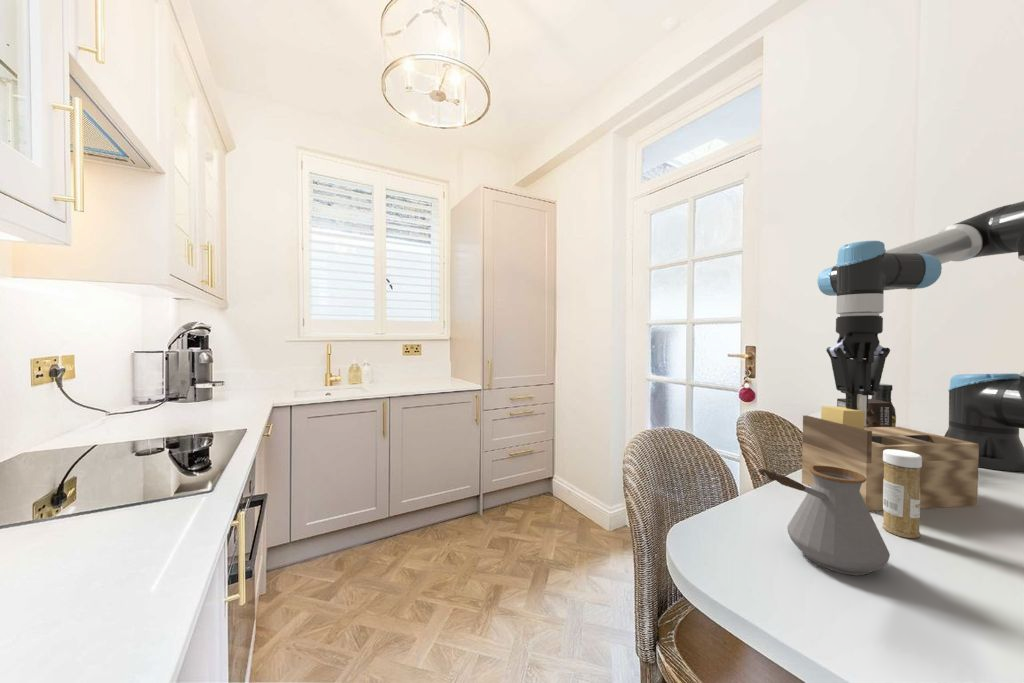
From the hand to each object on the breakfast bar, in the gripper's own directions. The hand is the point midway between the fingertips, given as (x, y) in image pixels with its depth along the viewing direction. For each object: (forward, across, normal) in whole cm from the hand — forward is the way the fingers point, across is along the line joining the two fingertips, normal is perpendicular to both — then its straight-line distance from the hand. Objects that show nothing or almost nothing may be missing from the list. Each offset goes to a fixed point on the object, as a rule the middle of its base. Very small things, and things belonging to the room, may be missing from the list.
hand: (856, 424), depth 83 cm
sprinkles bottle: (+14, +11, +18) cm, 25 cm away
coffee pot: (+14, +34, +25) cm, 45 cm away
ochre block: (+2, +4, 0) cm, 4 cm away
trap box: (+14, -3, +4) cm, 14 cm away
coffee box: (+14, -19, -15) cm, 28 cm away
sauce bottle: (+14, -27, -18) cm, 35 cm away
